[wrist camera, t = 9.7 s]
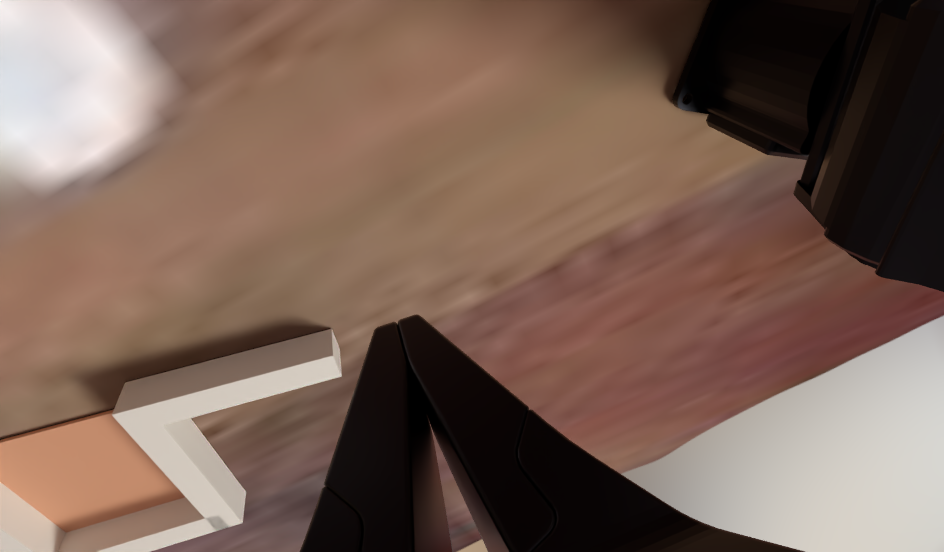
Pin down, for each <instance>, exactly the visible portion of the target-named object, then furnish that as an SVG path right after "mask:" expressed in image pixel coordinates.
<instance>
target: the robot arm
mask: <svg viewBox="0 0 944 552" xmlns="http://www.w3.org/2000/svg"><path fill="white" fill-rule="evenodd" d="M686 94H687V98H686V99H685V100H684V101H683V102H682V100H683V97H684V96H685V95H686ZM672 100H673V104H674V106H676V107H678V108H680V109H682V110H686V111H693V112H699V113H705V114H709V115H708V117H707V120H706V121H707V124H708V126H710V127H712V128H714V129H716V130H718V131H720V132H722V133H724V134H726V135H728V136H730V137H732V138H734V139H736V140H738V141H740V142H742V143H744V144H746V145H748V146H750V147H752V148H754V149H756V150H758V151H761V152H763V153H765V154H767V155H773V156H781V157H788V158H796V159H804V160H807V161H806V164H805V168H804V171H803V174H802V177H801V180H798V181H797V184H796V187H795V190H794V193H793V194H794V195H795V196H796V198H797V199H798V200H799V201H800V202H801V203H802V204H803V205H804V206H805V208H806V209H807V210H808V211H809V212H810V213H811V214H812V215H813V216H814V217H815V219H816V220H817V221H818V222H819V223H820V224H821V225H822V226H823V227H824V229H825V232H824V235H825V237H826V238H827V239H828V240H829V241H830V242H831V243H833V244H835V245H836V246H838V247H839V248H841V249H843V250H844V251H846V252H847V253H848V254H849V255H850V256H852V257H853V258H855V259H857V260H858V261H859V262H860V263H862V264H865V265H868V266H871V267H873V268H875V269H876V271H875V273H876V274H877V275H878V276H880V277H883V278H888V279H893V280H899V281H904V282H909V283H914V284H919V285H923V286H926V287H929V288H933V289H936V290H939V291H943V292H944V0H712V1H711V3H710V6H709V8H708V11H707V13H706V16H705V18H704V21H703V23H702V26H701V28H700V31H699V33H698V35H697V38H696V40H695V43H694V45H693V48H692V50H691V53H690V55H689V58H688V60H687V63H686V65H685V68H684V70H683V73H682V75H681V78H680V80H679V83H678V85H677V88H676V90H675V93H674V95H673V99H672ZM429 421H430V423H429ZM430 424H431V427H432V430H433V432H434V435H435V437H436V439H437V442H438V444H439V446H440V448H441V450H442V452H443V455H444V457H445V459H446V461H447V463H448V465H449V468H450V470H451V472H452V474H453V476H454V478H455V481H456V483H457V485H458V487H459V489H460V492H461V494H462V496H463V498H464V500H465V502H466V505H467V507H468V509H469V511H470V513H471V515H472V518H473V520H474V522H475V524H476V526H477V528H478V531H479V533H480V535H481V537H482V539H483V541H484V544H485V546H486V548H487V550H488V552H804V551H800V550H796V549H793V548H789V547H785V546H782V545H778V544H774V543H770V542H767V541H763V540H759V539H755V538H751V537H748V536H744V535H740V534H736V533H733V532H729V531H725V530H722V529H718V528H715V527H712V526H710V525H707V524H704V523H702V522H700V521H697V520H695V519H693V518H691V517H689V516H687V515H685V514H683V513H681V512H680V511H678V510H676V509H674V508H673V507H671V506H669V505H668V504H666V503H665V502H663V501H661V500H660V499H658V498H657V497H655V496H654V495H652V494H651V493H649V492H648V491H646V490H645V489H643V488H641V487H640V486H638V485H637V484H635V483H634V482H632V481H631V480H629V479H627V478H626V477H624V476H623V475H621V474H620V473H618V472H617V471H615V470H614V469H612V468H610V467H609V466H607V465H606V464H604V463H603V462H601V461H600V460H598V459H596V458H595V457H594V456H592V455H591V454H589V453H588V452H586V451H585V450H583V449H582V448H580V447H579V446H578V445H576V444H575V443H573V442H572V441H570V440H569V439H568V438H566V437H565V436H564V435H563V434H561V433H560V432H559V431H557V430H556V429H555V428H554V427H552V426H551V425H550V424H548V423H547V422H546V421H545V420H544V419H542V418H541V417H540V416H539V415H538V414H536V413H535V412H534V411H533V410H529V407H528V406H527V405H525V404H524V403H523V402H522V401H521V400H520V399H518V398H517V397H516V396H515V395H514V394H512V393H511V392H510V391H509V390H508V389H506V388H505V387H504V386H503V385H502V384H501V383H499V382H498V381H497V380H496V379H495V378H493V377H492V376H491V375H490V374H489V373H487V372H486V371H485V370H484V369H483V368H482V367H480V366H479V365H478V364H477V363H476V362H474V361H473V360H472V359H471V358H470V357H468V356H467V355H466V354H465V353H464V352H463V351H461V350H460V349H459V348H458V347H457V346H455V345H454V344H453V343H452V342H451V341H449V340H448V339H447V338H446V337H445V336H444V335H442V334H441V333H440V332H439V331H438V330H436V329H435V328H434V327H433V326H432V325H430V324H429V323H428V322H427V321H426V320H425V319H423V318H422V317H421V316H420V315H413V316H410V317H407V318H404V319H401V320H399V321H398V324H397V323H396V322H392V323H389V324H386V325H383V326H380V327H377V328H376V329H375V330H374V333H373V336H372V339H371V342H370V345H369V348H368V351H367V354H366V357H365V360H364V363H363V366H362V369H361V372H360V375H359V379H358V382H357V385H356V388H355V391H354V394H353V397H352V400H351V403H350V406H349V409H348V412H347V415H346V418H345V421H344V424H343V427H342V430H341V433H340V436H339V439H338V442H337V446H336V449H335V452H334V455H333V458H332V461H331V464H330V467H329V470H328V473H327V476H326V479H325V482H324V485H325V487H323V488H322V490H321V493H320V497H319V500H318V503H317V506H316V509H315V512H314V515H313V517H312V520H311V523H310V526H309V528H308V531H307V534H306V537H305V540H304V542H303V545H302V547H301V550H300V552H453V550H452V544H451V539H450V533H449V527H448V521H447V515H446V509H445V504H444V498H443V492H442V486H441V480H440V474H439V469H438V463H437V457H436V451H435V445H434V440H433V435H432V430H431V427H430Z"/></svg>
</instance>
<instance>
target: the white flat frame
mask: <svg viewBox="0 0 944 552" xmlns="http://www.w3.org/2000/svg"><path fill="white" fill-rule="evenodd" d="M341 376H342V375H341V360H340V349H339V346H338V343H337V341H336V338H335V336H334V333H333V331H332V329H329V330H325V331H321V332H317V333H313V334H309V335H306V336H302V337H298V338H294V339H290V340H286V341H283V342H279V343H275V344H271V345H267V346H263V347H259V348H256V349H252V350H248V351H244V352H240V353H236V354H233V355H229V356H225V357H221V358H217V359H213V360H210V361H206V362H202V363H198V364H194V365H190V366H187V367H183V368H179V369H175V370H171V371H167V372H164V373H160V374H156V375H152V376H148V377H144V378H141V379H137V380H133V381H129V382H125V384H124V386H123V389H122V391H121V394H120V396H119V398H118V401H117V403H116V406H115V408H114V410H110V411H107V412H103V413H99V414H95V415H92V416H88V417H84V418H80V419H77V420H73V421H69V422H66V423H62V424H58V425H54V426H51V427H47V428H43V429H39V430H36V431H32V432H28V433H24V434H21V435H17V436H13V437H9V438H6V439H2V440H0V552H150V551H153V550H157V549H160V548H163V547H166V546H169V545H173V544H176V543H179V542H182V541H186V540H189V539H192V538H195V537H199V536H202V535H205V534H208V533H211V532H215V531H218V530H221V529H224V528H228V527H231V526H234V525H237V524H241V523H243V514H244V506H245V497H246V491H245V490H244V489H243V487H242V486H241V485H240V483H239V482H238V481H237V479H236V478H235V477H234V475H233V474H232V473H231V471H230V470H229V469H228V467H227V466H226V465H225V463H224V462H223V461H222V459H221V458H220V457H219V455H218V454H217V453H216V451H215V450H214V449H213V447H212V446H211V445H210V443H209V442H208V441H207V439H206V438H205V437H204V435H203V434H202V433H201V431H200V430H199V429H198V427H197V426H196V425H195V423H194V422H193V421H192V419H191V418H192V417H196V416H199V415H203V414H207V413H210V412H214V411H218V410H221V409H225V408H228V407H232V406H236V405H239V404H243V403H247V402H250V401H254V400H258V399H261V398H265V397H268V396H272V395H276V394H279V393H283V392H287V391H290V390H294V389H297V388H301V387H305V386H308V385H312V384H316V383H319V382H323V381H326V380H330V379H334V378H337V377H341Z"/></svg>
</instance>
